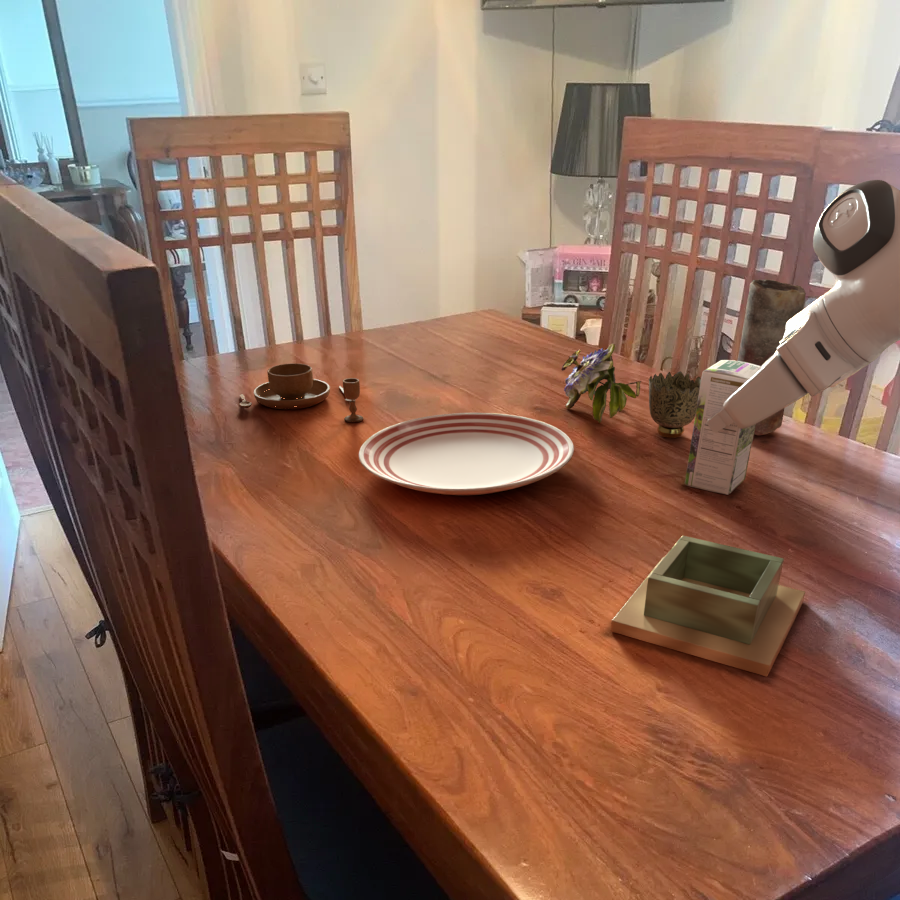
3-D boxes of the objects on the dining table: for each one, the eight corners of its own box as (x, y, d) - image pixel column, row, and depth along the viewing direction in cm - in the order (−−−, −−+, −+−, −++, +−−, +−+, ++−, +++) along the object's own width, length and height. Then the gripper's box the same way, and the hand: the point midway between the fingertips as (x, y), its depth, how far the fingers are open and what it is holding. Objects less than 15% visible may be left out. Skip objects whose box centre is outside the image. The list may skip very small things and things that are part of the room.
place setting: (340, 383, 144) (337, 347, 141) (368, 420, 128) (366, 381, 125) (234, 394, 140) (229, 358, 137) (249, 435, 123) (244, 395, 120)
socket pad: (803, 601, 82) (814, 554, 80) (767, 677, 72) (778, 624, 70) (661, 566, 89) (667, 521, 86) (610, 631, 79) (615, 582, 76)
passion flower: (569, 442, 134) (553, 368, 135) (638, 427, 134) (622, 353, 135) (575, 423, 123) (557, 343, 124) (650, 407, 123) (632, 326, 123)
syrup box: (701, 471, 110) (718, 357, 103) (746, 481, 107) (767, 365, 100) (683, 485, 106) (700, 368, 99) (730, 497, 103) (750, 377, 96)
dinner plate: (321, 494, 105) (319, 468, 104) (411, 422, 127) (411, 400, 126) (537, 528, 97) (538, 501, 95) (594, 445, 118) (596, 421, 117)
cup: (708, 437, 120) (716, 380, 116) (671, 448, 117) (678, 390, 113) (668, 422, 126) (675, 368, 122) (632, 433, 122) (637, 377, 118)
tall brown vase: (743, 418, 127) (767, 275, 117) (790, 429, 123) (819, 282, 112) (715, 431, 123) (738, 283, 112) (763, 443, 118) (791, 291, 108)
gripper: (825, 302, 101) (728, 373, 110) (785, 342, 86) (677, 421, 95) (857, 345, 101) (758, 413, 110) (823, 393, 86) (711, 466, 95)
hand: (720, 417), depth 103 cm, fingers closed on syrup box, 6 cm apart
